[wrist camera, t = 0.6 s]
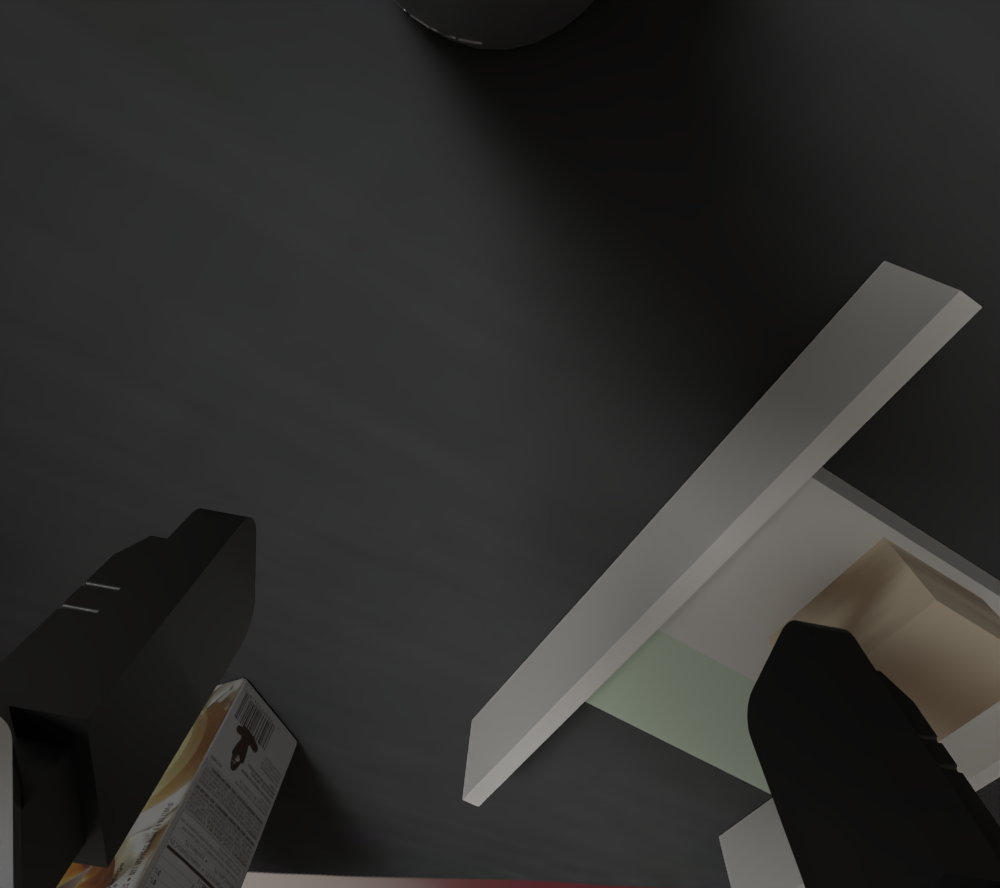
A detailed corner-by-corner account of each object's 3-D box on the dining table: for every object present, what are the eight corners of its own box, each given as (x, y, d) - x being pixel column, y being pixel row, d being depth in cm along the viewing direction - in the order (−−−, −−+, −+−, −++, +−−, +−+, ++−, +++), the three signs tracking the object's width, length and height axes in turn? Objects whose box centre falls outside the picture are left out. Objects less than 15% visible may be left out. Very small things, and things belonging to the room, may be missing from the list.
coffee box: (186, 771, 42) (0, 1107, 27) (126, 707, 39) (-114, 1042, 25) (302, 742, 40) (167, 1089, 25) (247, 672, 37) (61, 1015, 23)
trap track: (884, 260, 24) (960, 290, 20) (1208, 502, 28) (1333, 572, 24) (471, 720, 38) (462, 799, 33) (730, 842, 41) (752, 928, 37)
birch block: (883, 536, 27) (936, 600, 23) (982, 599, 28) (1047, 668, 24) (768, 638, 29) (799, 708, 26) (862, 690, 31) (904, 764, 27)
